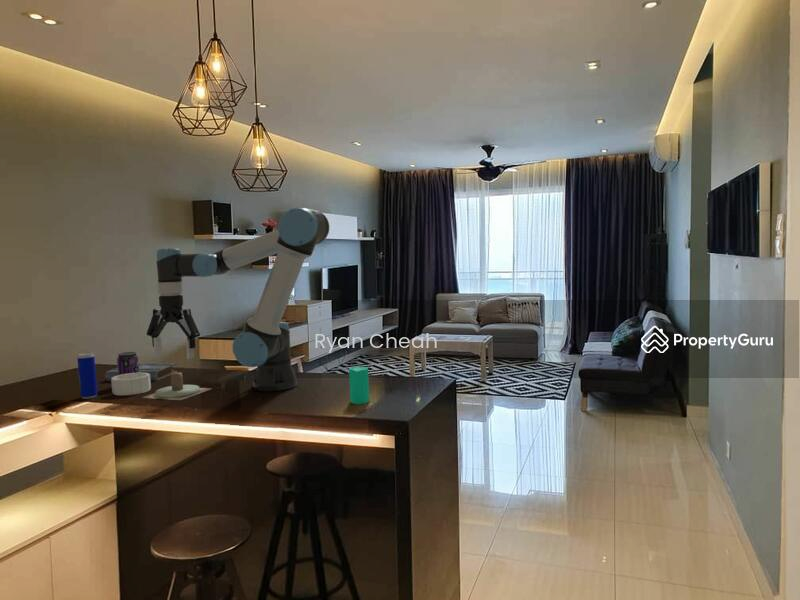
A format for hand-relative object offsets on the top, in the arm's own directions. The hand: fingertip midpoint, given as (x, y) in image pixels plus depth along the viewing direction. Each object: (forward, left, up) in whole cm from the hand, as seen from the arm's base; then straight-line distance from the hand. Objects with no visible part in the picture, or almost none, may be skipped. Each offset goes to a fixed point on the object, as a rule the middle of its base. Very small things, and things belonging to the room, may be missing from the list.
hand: (174, 357), depth 202 cm
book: (+36, -23, -14) cm, 45 cm away
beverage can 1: (+30, +9, -13) cm, 34 cm away
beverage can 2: (+30, -9, -13) cm, 34 cm away
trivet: (0, 0, -13) cm, 13 cm away
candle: (-65, -6, -13) cm, 67 cm away
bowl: (+19, +1, -13) cm, 23 cm away
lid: (0, 0, -12) cm, 12 cm away
